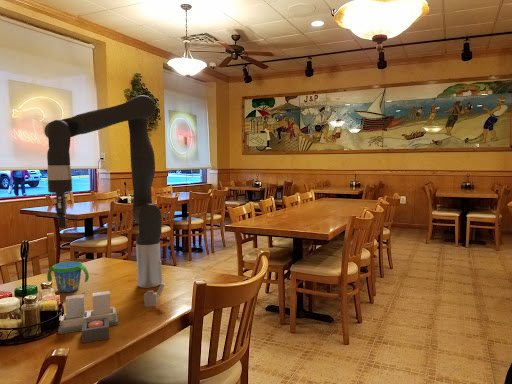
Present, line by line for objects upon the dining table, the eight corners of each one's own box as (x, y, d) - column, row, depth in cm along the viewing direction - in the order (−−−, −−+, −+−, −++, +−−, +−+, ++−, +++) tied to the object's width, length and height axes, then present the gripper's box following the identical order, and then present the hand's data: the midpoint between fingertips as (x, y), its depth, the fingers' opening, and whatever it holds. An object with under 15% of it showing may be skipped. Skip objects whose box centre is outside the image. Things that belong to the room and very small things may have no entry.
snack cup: (94, 286, 154) (93, 261, 154) (78, 295, 144) (77, 269, 143) (59, 284, 157) (58, 260, 156) (41, 293, 146) (39, 267, 146)
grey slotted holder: (116, 313, 127) (115, 287, 126) (117, 324, 118) (116, 296, 118) (61, 322, 120) (59, 294, 120) (58, 334, 112) (56, 304, 111)
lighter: (144, 306, 133) (143, 284, 132) (145, 304, 134) (144, 282, 134) (165, 305, 133) (164, 283, 133) (165, 303, 135) (165, 281, 134)
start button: (103, 327, 113) (103, 319, 113) (103, 333, 110) (103, 325, 110) (88, 330, 112) (88, 321, 112) (88, 336, 108) (87, 327, 108)
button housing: (108, 328, 115) (108, 317, 115) (109, 338, 109) (109, 326, 109) (83, 332, 113) (82, 321, 113) (82, 343, 106) (81, 331, 106)
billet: (85, 319, 120) (84, 294, 120) (85, 322, 117) (83, 297, 117) (67, 321, 118) (66, 296, 118) (66, 325, 116) (65, 299, 115)
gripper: (70, 179, 129) (73, 230, 131) (72, 177, 141) (75, 224, 143) (45, 179, 126) (48, 231, 128) (49, 178, 138) (52, 225, 140)
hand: (62, 227), depth 135 cm, fingers closed
